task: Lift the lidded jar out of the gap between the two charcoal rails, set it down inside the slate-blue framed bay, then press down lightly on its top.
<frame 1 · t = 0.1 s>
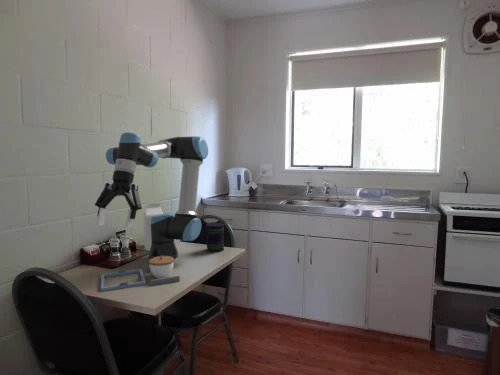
hand: (114, 226, 127), 28 cm above the table, tool tilted 20°, fingers open, 13 cm apart
lidded jar: (162, 276, 153), on the table
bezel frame: (122, 280, 148), on the table
charcoal rails: (162, 276, 153), on the table
milk: (155, 246, 203), on the table
storage jar: (215, 250, 193), on the table
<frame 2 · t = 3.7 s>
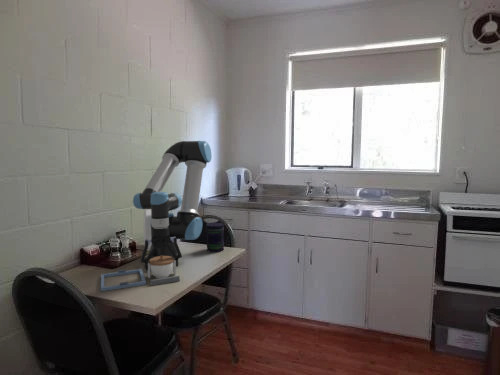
hand: (162, 275, 153), 0 cm above the table, tool pointing down, fingers closed on lidded jar, 11 cm apart
lidded jar: (162, 276, 153), on the table, touching gripper
everything else where it was.
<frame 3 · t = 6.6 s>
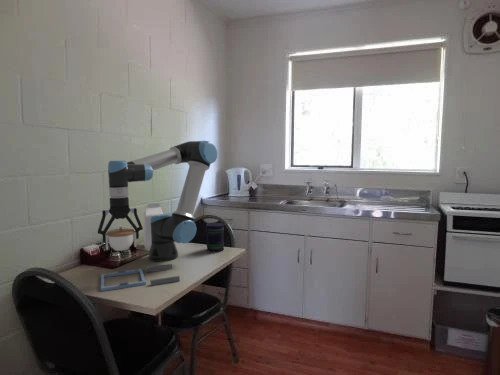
hand: (121, 247, 146), 15 cm above the table, tool pointing down, fingers closed on lidded jar, 11 cm apart
lidded jar: (121, 249, 146), point 14 cm above the table, touching gripper
everything else where it was.
when the fingers open (2 cm above the table, at t = 9.5 s): lidded jar drops 1 cm, on the table.
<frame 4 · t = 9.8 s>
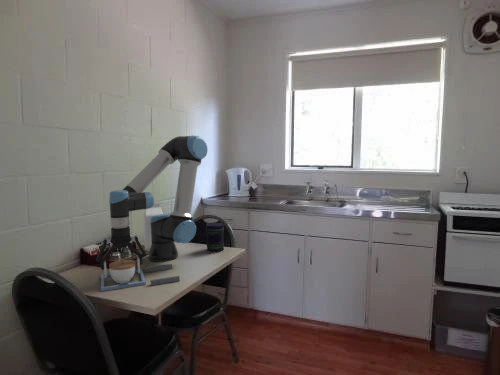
hand: (122, 274, 147), 3 cm above the table, tool pointing down, fingers open, 13 cm apart
lidded jar: (123, 281, 148), on the table
everything else where it was.
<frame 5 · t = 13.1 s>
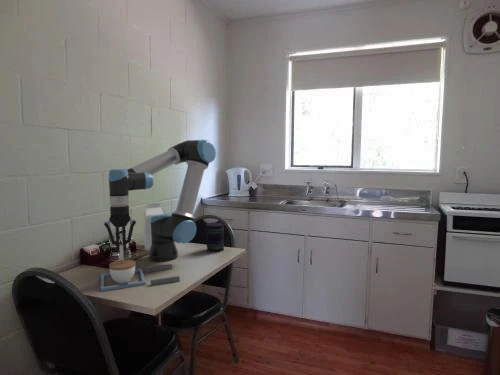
hand: (121, 259, 146), 10 cm above the table, tool pointing down, fingers closed
lidded jar: (123, 281, 148), on the table, touching gripper
everything else where it was.
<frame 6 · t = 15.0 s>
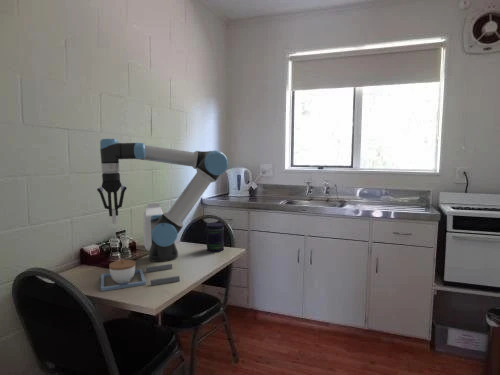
hand: (114, 222, 159), 23 cm above the table, tool pointing down, fingers closed
lidded jar: (123, 281, 148), on the table
everything else where it was.
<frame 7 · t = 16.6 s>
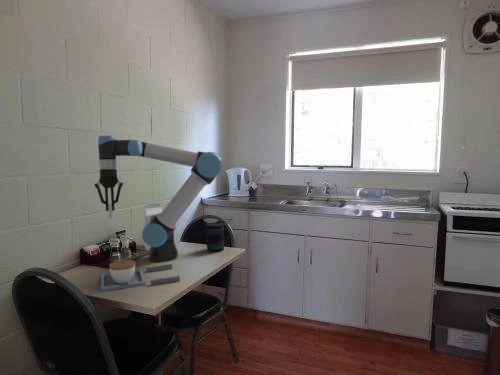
hand: (110, 217, 163), 24 cm above the table, tool pointing down, fingers closed
nothing on the table moved.
at the end: lidded jar 0.1 cm off-centre on the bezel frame, point 0.0 cm above the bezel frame's base; lidded jar tilted 0°; the gripper is holding nothing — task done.
